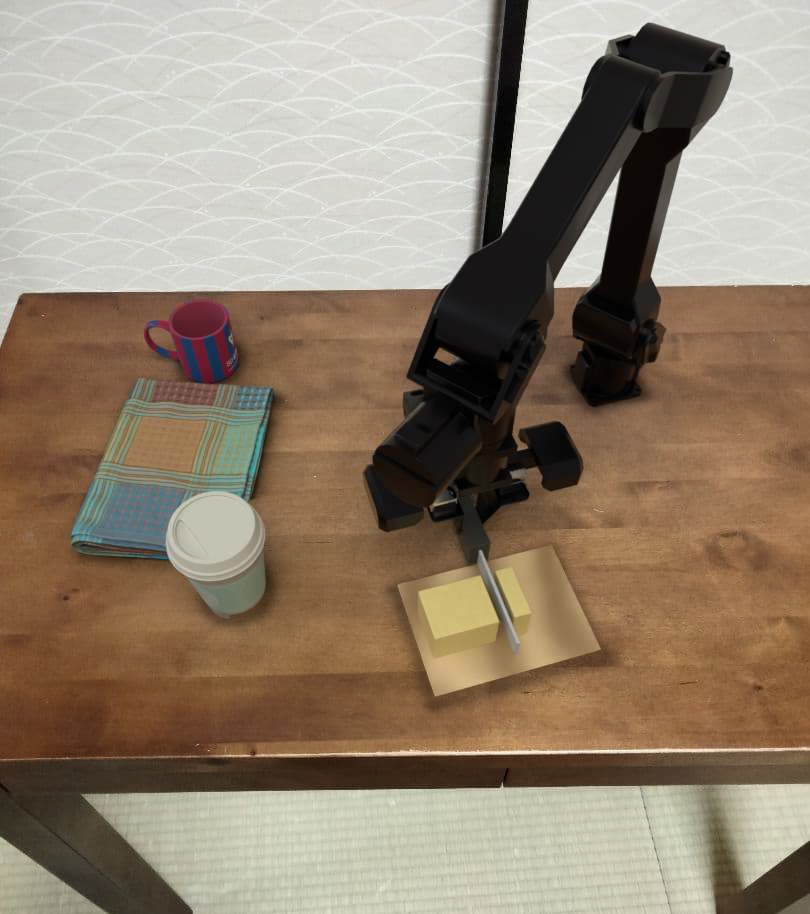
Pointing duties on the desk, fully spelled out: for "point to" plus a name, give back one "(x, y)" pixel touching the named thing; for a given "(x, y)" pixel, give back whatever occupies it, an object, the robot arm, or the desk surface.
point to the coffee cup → (219, 550)
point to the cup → (199, 340)
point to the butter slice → (513, 599)
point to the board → (546, 641)
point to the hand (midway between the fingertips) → (467, 527)
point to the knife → (483, 562)
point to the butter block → (457, 616)
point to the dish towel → (170, 461)
